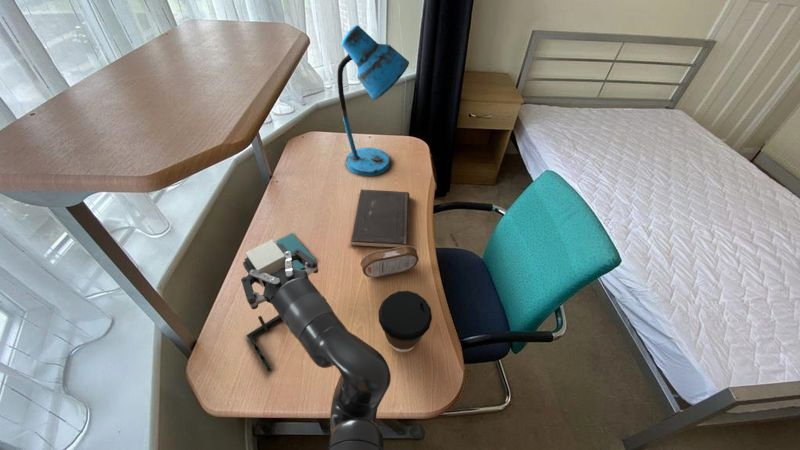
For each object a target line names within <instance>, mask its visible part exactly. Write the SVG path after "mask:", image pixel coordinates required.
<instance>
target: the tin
mask: <svg viewBox="0 0 800 450" xmlns="http://www.w3.org/2000/svg"><path fill="white" fill-rule="evenodd" d="M418 262H419V255H418V251H417V249H416V248H415V247H414V246H410V245H408V246H403V247H398V248H386V249H382V250H375V251H372V252H370V253H368V254H366V255H365V256H364V257H363V258H362V259H361V261H360V267H361V271H362V273H363V275H364V276H366V277H368V278H375V279H376V278H382V277H387V276H390V275H395V274H400V273H405V272H409V271H410V270H413V269H414V267H416V266H417V264H418Z"/></svg>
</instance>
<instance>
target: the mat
mask: <svg viewBox="0 0 800 450" xmlns="http://www.w3.org/2000/svg"><path fill="white" fill-rule="evenodd" d="M274 242H275V243H276V242H278V244H280V243H281V244H283V245H284V246H285V248H286V249H287V250H288V251H290V252H293V251H294V250H295V249H300V250H302V251H303V252H304V253H306V254H307V255H308V256H310V257H311V258H312V259H314V260H315V261H316V262H317V260H316V259H315V257H314V256H313V255H312V254H311V252H310V251H308V249H306V247H305V246H304V244H303V243H301V242H300V240H299V239H298V238H297V237H296V236H295V235H294V234H293V233H290V234H288V235H286V236H284V237H281V238H280V239H278V240H276V241H274ZM293 264H294V268H296V269H300V270H305V266H304V265H303V264H301V263H300V262H299V261H297V260H295V261H293Z"/></svg>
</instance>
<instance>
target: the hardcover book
mask: <svg viewBox="0 0 800 450" xmlns="http://www.w3.org/2000/svg"><path fill="white" fill-rule="evenodd" d="M409 213H410V192H409V191H397V190H396V191H395V190H381V189H380V190H378V189H377V190H376V189H363V188H362V189H360V192H359V196H358V201H357V207H356V212H355V218H354V223H353V229H352V233H351V238H350V242H351V246H350V247H357V248H377V249H392V248H398V247H403V246H409V216H410V215H409Z"/></svg>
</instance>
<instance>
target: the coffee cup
mask: <svg viewBox="0 0 800 450" xmlns="http://www.w3.org/2000/svg"><path fill="white" fill-rule="evenodd" d="M432 320H433V314H432V309H431V306H430V305H429V303H428V301H427V300H426V299H425V298H424V297H423V296H422V295H420V294H419V293H417V292H413V291H411V290H398V291H396V292H394V293H391V294H389V295H388V296H387V297H386V298H385V299H384V300H383V301H382V302H381V304H380V306H379V309H378V323H379V325H380V327H381V329H382V330H383V331H382V332H384V335H385V338H386V340H387V342H388V344H389V346H390V347H391V348H392V349H393V350H394V351H397V352H400V353H407V352H410V351H411V350H413V349H414V348H415V347H416V346H417V345H418V343H419V342H420V341H421V339H422V337H423V336H424V335H426V333H427V332H428V330H430V327H431V323H432Z"/></svg>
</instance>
